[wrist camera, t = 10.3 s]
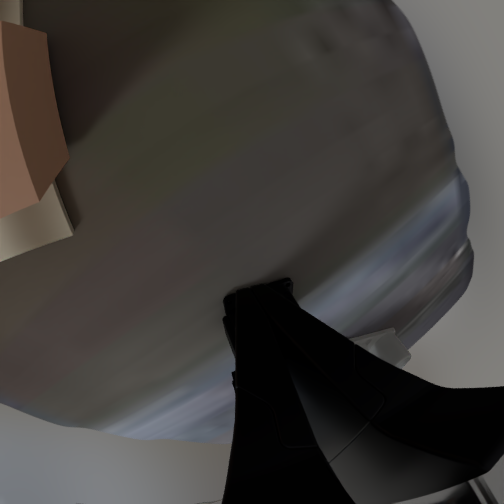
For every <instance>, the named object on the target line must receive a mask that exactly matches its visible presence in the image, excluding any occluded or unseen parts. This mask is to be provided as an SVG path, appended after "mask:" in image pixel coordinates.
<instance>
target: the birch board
mask: <svg viewBox="0 0 504 504" xmlns="http://www.w3.org/2000/svg"><path fill="white" fill-rule="evenodd" d="M1 20H2V21H6V22H10V23H14V24H17V25H21V26H24V25H23V0H0V21H1ZM73 234H74V229H73V226H72V224H71V221H70V219H69V217H68V214H67V212H66V209H65V207H64V204H63V201H62V199H61V196H60V193H59V190H58V188H57V185H56V182H55V179H54V181H53V182H52V184H51V185H50V187H49V188H48V190H47V191H46V193H45V194H44V196H43V197H42V199H41V200H40V202H38V203H36V204H33V205H31V206H28V207H26V208H23V209H21V210H19V211H16V212H14V213H12V214H10V215H7V216H5V217H3V218H1V219H0V262H1V261H3V260H6V259H8V258H11V257H14V256H16V255H19V254H22V253H24V252H27V251H30V250H32V249H35V248H38V247H41V246H43V245H46V244H49V243H52V242H55V241H58V240H61V239H64V238H67V237H70V236H73Z"/></svg>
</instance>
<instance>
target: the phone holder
mask: <svg viewBox="0 0 504 504" xmlns="http://www.w3.org/2000/svg"><path fill="white" fill-rule="evenodd" d="M395 332H396V331H395V329H394V328H393V327H392V328H388V329H385V330H381V331H377V332H374V333H370V334H366V335H362V336H358V337H355V338H350V339H349V340H351V341H353V342H354V343H355V344H358V345H359V346H361V347H362V348H364V349H365V350H367V351H369V352H370V353H372V354H374V355H375V356H377V357H379V358H381V359H382V360H384V361H386V362H388V363H390V364H392V365H394V366H396V367H398V368H400V369H402V368H403V366H405V364H406V363H407V362H408V361H409V360H410V358H411V354H410V353H409V351H408V350H407V349H406V348H405V346H404V345H403V344H402V342H401V341H400V340H399V339H398V337H397V336H396V335H395Z"/></svg>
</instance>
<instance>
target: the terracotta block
mask: <svg viewBox="0 0 504 504" xmlns="http://www.w3.org/2000/svg"><path fill="white" fill-rule="evenodd" d="M69 159H70V156H69V153H68V149H67V145H66V142H65V138H64V134H63V130H62V126H61V121H60V117H59V112H58V108H57V103H56V98H55V93H54V87H53V81H52V75H51V68H50V61H49V53H48V43H47V33H44V32H41V31H38V30H35V29H31V28H28V27H24V26H21V25H17V24H14V23H10V22H6V21H2V20H1V21H0V219H1V218H3V217H5V216H7V215H10V214H12V213H14V212H16V211H19V210H21V209H23V208H26V207H28V206H31V205H33V204H36V203H38V202H40V200H41V199H42V197H43V196H44V194H45V193H46V191H47V190H48V188H49V187H50V185H51V184H52V182H53V181H54V179H55V178H56V176H57V175H58V174H59V172H60V171H61V169H62V168H63V167H64V165H65V164H66V163H67V161H68V160H69Z"/></svg>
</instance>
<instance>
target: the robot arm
mask: <svg viewBox="0 0 504 504" xmlns="http://www.w3.org/2000/svg"><path fill="white" fill-rule="evenodd" d="M292 293H293V282H292V280H291V279H290V278H285V279H282V280H279V281H276V282H272V283H269V284H266V285H265V284H258V285H254V286H251V287H250V288H248V287H247V288H243V289H239V290H237V291H236V294H233V295H229V296H227V297H225V298H224V299H223V303H224V308H225V313H226V316H224V317H223V319H222V320H223V324H224V328H225V333H226V336H227V339H228V341H229V344H230V346H231V349H232V352H233V354H234V357H235V371H234V372H232V377H233V381H232V382H233V383H232V384H233V387H234V390H235V423H234V432H233V440H232V447H231V453H230V459H229V466H228V473H227V479H226V485H225V491H224V495H223V500H222V504H504V386H500V387H488V388H487V387H485V388H445V387H441V386H438V385H435V384H433V383H430V382H428V381H426V380H423V379H421V378H419V377H417V376H415V375H413V374H411V373H409V372H406V371H404V370H402V369H400V368H398V367H396V366H394V365H392V364H390V363H388V362H386V361H384V360H382V359H381V358H379V357H377V356H375V355H374V354H372V353H370V352H369V351H367V350H365V349H364V348H362V347H361V346H359V345H358V344H355V343H354V342H353V341H351V340H349V339H348V338H346V337H345V336H343V335H342V334H340V333H339V332H337V331H335V330H334V329H332V328H331V327H329V326H328V325H326V324H325V323H323V322H321V321H320V320H318V319H317V318H315V317H314V316H312V315H311V314H309V313H308V312H306V311H305V310H303V309H301V308H300V306H299V305H298V303H297V302H296V300H295V299H294V297H293V295H292ZM228 301H229V302H228Z"/></svg>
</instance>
